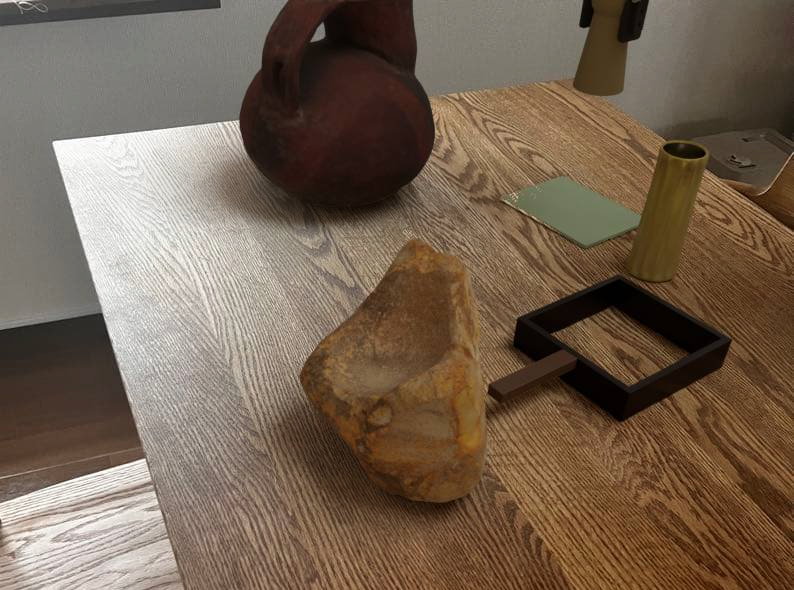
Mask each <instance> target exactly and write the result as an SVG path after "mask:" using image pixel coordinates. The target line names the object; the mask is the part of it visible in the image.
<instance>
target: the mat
mask: <svg viewBox="0 0 794 590" xmlns="http://www.w3.org/2000/svg"><path fill="white" fill-rule="evenodd" d="M560 176H561V177H560ZM560 176H558V177H554V178H551V179H549V180H545V181H543V182H540V183H536V184H535V185H536V186H534V185H531V186H528V187H525V188H522V189H519V190H517V191H518V192H517V191H514V192H515V193H518V202H517V201H516V202H514V201H515V200H516V199H517V198H516V199H514V200H512V199H513V198H515V197H516V196H517V195H516V196H514V197H513V198H511V197H512V196H513V195H514V194H513V195H511V196H509V195H510V193H508V194H505V195H502V196H501V197H502V198H503V199H504V200H507V201H508V202H510V203H511V204H513V205H515V206H516V207H519V208H520V209H522V210H524V211H525V212H527V213H529V214H531V215H532V216H534V217H536V218H537V219H539V220H541V221H542V222H543V223H545V224H547V225H549V226H550V227H551V228H553V229H554V230H556V231H557V232H559V233H560V234H562V235H564V236H566V237H567V238H569V239H570V240H571V241H570V240H569V241H570V242H572V241H573V242H572V243H574V242H575V243H576V245H577V244H578V245H577V246H579V247H580V248H582V247H583V248H582V249H584V250H587V249H589V248H592V247H594V246H597V245H599V243H600V244H602V243H604V241H605V242H607V241H609V240H608V239H610V240H612V239H614V238H617V237H619V236H622V235H624V234H627V233H629V232H632V231H634V230H637V229H638V225H639V222H640V219H641V215H642V214H639V213H637V212H636V211H633V210H632V209H629V208H627V207H626V206H624V205H622V204H619V203H617V202H615V201H614V200H612V199H610V198H609V197H606V196H604V195H602V194H600V193H598V192H596V191H595V190H592V189H591V188H588V187H587V186H584V185H583V184H581V183H579V182H577V181H575V180H573V179H571V178H569V177H568V176H566V175H560ZM563 176H564V178H563ZM541 183H542V184H541ZM544 184H545V185H544ZM537 185H538V187H537ZM536 187H537V188H536ZM539 188H540V189H539ZM538 189H539V190H538ZM541 190H542V191H541ZM520 191H521V193H519V192H520ZM540 191H541V192H540ZM522 193H523V195H521V194H522ZM532 193H533V194H532ZM531 194H532V195H531ZM535 194H536V195H535ZM520 195H521V196H520ZM534 195H535V196H534ZM508 196H509V197H508ZM536 196H537V197H536ZM522 197H523V198H522ZM535 197H536V198H535ZM510 198H511V199H510ZM534 198H535V199H534ZM508 199H509V200H508ZM523 199H524V200H523ZM511 200H512V201H511ZM535 211H536V212H535ZM636 228H637V229H636ZM633 229H634V230H633ZM631 230H632V231H631ZM628 231H629V232H628ZM626 232H627V233H626ZM560 234H559V235H560ZM621 234H622V235H621ZM567 238H566V239H567ZM606 240H607V241H606ZM601 242H602V243H601ZM575 243H574V244H575Z"/></svg>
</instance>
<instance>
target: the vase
mask: <svg viewBox="0 0 794 590" xmlns="http://www.w3.org/2000/svg"><path fill="white" fill-rule="evenodd" d="M709 158H710V152H709V150H708V149H707V147H705V146H704V145H702V144H700V143H698V142H695V141H689V140H684V139H683V140H682V139H671V140H667V141H665V142H663V143H662V144H661V145H660V147H659V150H658V155H657V159H656V162H655V167H654V171H653V173H652V179H651V183H650V186H649V189H648V192H647V195H646V199H645V203H644V206H643V209H642V212H641V214H640V215H641V219H640V222H639V225H638V228H637V229H636V232H635V236H634V238H633V239H634V240H633V243H632V246H631V249H630V251H629V255H628V258H627V259H626V261H625V265H624V266H625V269H626V270H627V272H628V273H629V274H630V275H631V276H632V277H635V278H637V279H638V280H641V281H645V282H650V283H663V282H667V281H670V280H672V279H673V278H674V277H675V276H676V275H677V273H678V266H679V263H680V258H681V255H682V251H683V247H684V244H685V240H686V235H687V232H688V229H689V225H690V221H691V218H692V215H693V211H694V206H695V204H696V200H697V196H698V193H699V189H700V186H701V184H702V180H703V176H704V174H705V170H706V167H707V164H708V161H709Z"/></svg>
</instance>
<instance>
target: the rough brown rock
mask: <svg viewBox="0 0 794 590" xmlns="http://www.w3.org/2000/svg"><path fill="white" fill-rule="evenodd" d="M480 343H481V333H480V321H479V311H478V304H477V300H476V295H475V291H474V288H473V283H472V278H471V275H470V272H469V270H468V269H467V267H466V265H465V264H464V262H463V261H462V260H461V259H460V258H458V257H457V256H455V255H453V254H450V253H445V252H442V251H437V250H435V249H434V248H432V246H431V245H429V244H428V243H427V242H426V241H424V240H422V239H421V238H419V237H413V238H411V239H410V240H408V241H407V242H406V243H405V244H404V245H403V246H402V247H401V249H400V250H399V251H398V253H397V254H396V256H395V258H394V259H393V261H392V262H391V264H390V265H389V267H388V268H387V270H386V272H385V273H384V274H383V276H382V278H381V280H380V281H379V282H378V283H377V285H376V286H375V288H374V289H373V290H372V291H371V292H370V293H369V295H368V296H366V297H365V299H364V300H363V301H362V303H361V304H360V305H359V306H358V307H357V308H356V310H355V311H354V312H353V313H352V314H351V315H350V316H349V317H348V318H347V319H346V320H344V321H343V322H341V323H340V324H339V325H338V326H337V327H336V328H335V329H334V330H333V331H332V332H331V333H329V334H328V335H326V336H325V337H324V338H323V339H321V340H320V341H319V343H318V345H317V346H316V347H315V349H314V350H313V351H312V352H311V353H310V355H308V357H307V358H306V360H305V362H304V363H303V366H302V368H301V369H300V373H299V375H298V376H299V381H300V385H301V387H302V389H303V391H304V394H305V395H306V397H307V399H308V400H309V402H310V403H311V404H312V406H313V408H314V410H315V412H317V414H318V416H319V417H320V418H321V419H322V420H323V421H324V422H325V424H326V423H327V424H328V426H330V428H331V429H332V430H333V431H334V432H335V433H336V434H337V435H338V436H339V437H340V438H342V440H343V441H344V442H345V444H347V446H348V447H349V448H350V449H351V451H352V452H353V454H354V456H355V457H356V458H357V460H358V462H359V464H360V465H361V466H362V468H363V469H364V471H365V472H366V474H367V475H368V477H369V479H371V480H372V482H373V483H374V484H375V485H376V486H377V487H378V488H379V489H380V490H381V491H383V492H386V493H388V494H389V495H391V496H395V495H398V496H401V497H404V498H405V499H408V500H410V501H417V502H428V503H448V502H451V501H454V500H458V499H461V498H463V497H465V496H466V495H469V494H470V493H471V492H472V491H473V490H475V489H476V487H477V486H478V485H479V484H480V481H481V480H482V478H483V473H484V470H485V469H484V468H485V465H486V461H487V457H488V451H487V437H488V434H487V433H488V432H487V431H488V430H487V415H486V414H487V413H486V405H485V394H484V382H483V381H484V380H483V374H482V368H481V354H480Z"/></svg>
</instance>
